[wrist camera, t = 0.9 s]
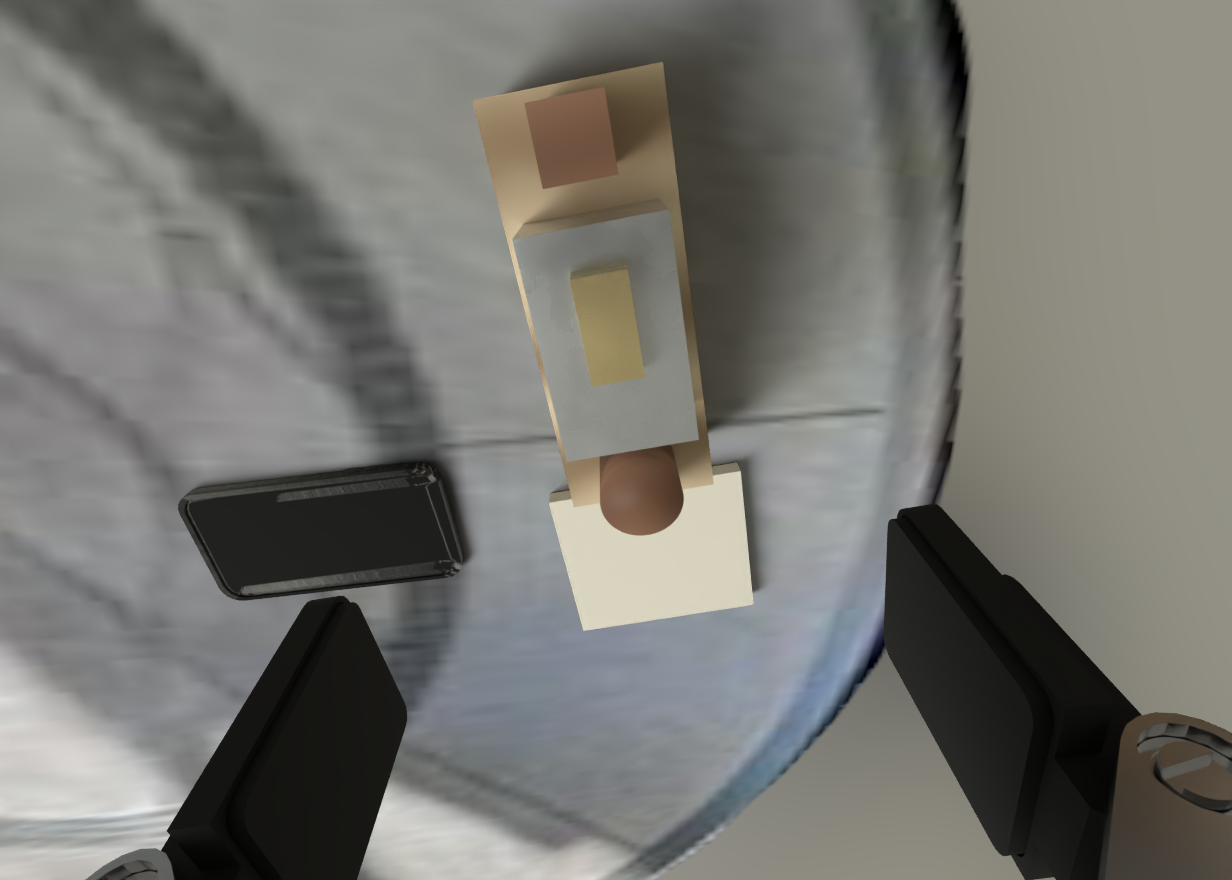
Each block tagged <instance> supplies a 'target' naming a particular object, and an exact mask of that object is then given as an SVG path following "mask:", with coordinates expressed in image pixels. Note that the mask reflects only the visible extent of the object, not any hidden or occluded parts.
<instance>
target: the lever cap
mask: <svg viewBox="0 0 1232 880" xmlns="http://www.w3.org/2000/svg"><path fill="white" fill-rule="evenodd" d="M512 241H513V245H514V249H515V253H516V257H517V261H518V265H519V269H520V274H521V278H522V282H523V286H524V290H525V294H526V298H527V302H528V306H529V310H530V314H531V318H532V322H533V326H534V331H535V335H536V339H537V343H538V347H539V351H540V355H541V359H542V363H543V367H544V371H545V375H546V379H547V383H548V387H549V392H550V396H551V400H552V404H553V408H554V412H555V416H556V420H557V424H558V428H559V432H560V436H561V440H562V444H563V449H564V453H565V457H566V461H567V462H570V461H576V460H582V459H588V458H594V457H600V456H606V455H612V454H618V453H624V452H629V451H635V450H641V449H647V448H653V447H659V446H665V445H671V444H677V443H683V442H688V441H694V440H699V436H698V428H697V420H696V412H695V405H694V397H693V389H692V381H691V373H690V366H689V358H688V350H687V342H686V335H685V327H684V319H683V311H682V304H681V296H680V288H679V280H678V272H677V265H676V257H675V249H674V241H673V234H672V226H671V218H670V210H669V208H668V207H667V206H666V205H665V204H664V202H663V201H662V200H661V199H660V198H658V199H652V200H647V201H642V202H637V203H631V204H626V205H621V206H616V207H611V208H605V209H600V210H595V211H590V212H584V213H579V214H574V215H569V216H563V217H558V218H553V219H548V220H543V221H537V222H532V223H527V224H523V225H522V226H521V227H520V229H519V230H518V232H517V233H516V235H515V236H514V237H513V239H512Z"/></svg>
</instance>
